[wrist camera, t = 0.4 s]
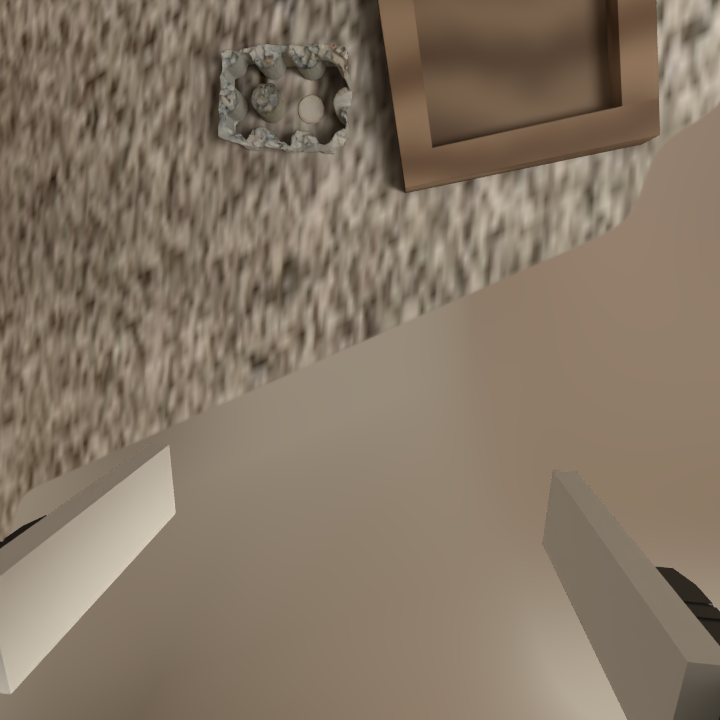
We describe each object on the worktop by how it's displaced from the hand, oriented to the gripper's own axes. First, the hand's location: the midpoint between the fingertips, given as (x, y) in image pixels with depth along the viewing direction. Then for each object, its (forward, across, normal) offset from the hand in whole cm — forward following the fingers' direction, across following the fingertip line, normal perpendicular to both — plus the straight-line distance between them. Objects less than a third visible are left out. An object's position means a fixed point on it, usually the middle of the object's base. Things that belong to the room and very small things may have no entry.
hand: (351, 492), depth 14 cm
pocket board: (+26, +9, +24) cm, 36 cm away
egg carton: (+26, -9, +20) cm, 34 cm away
